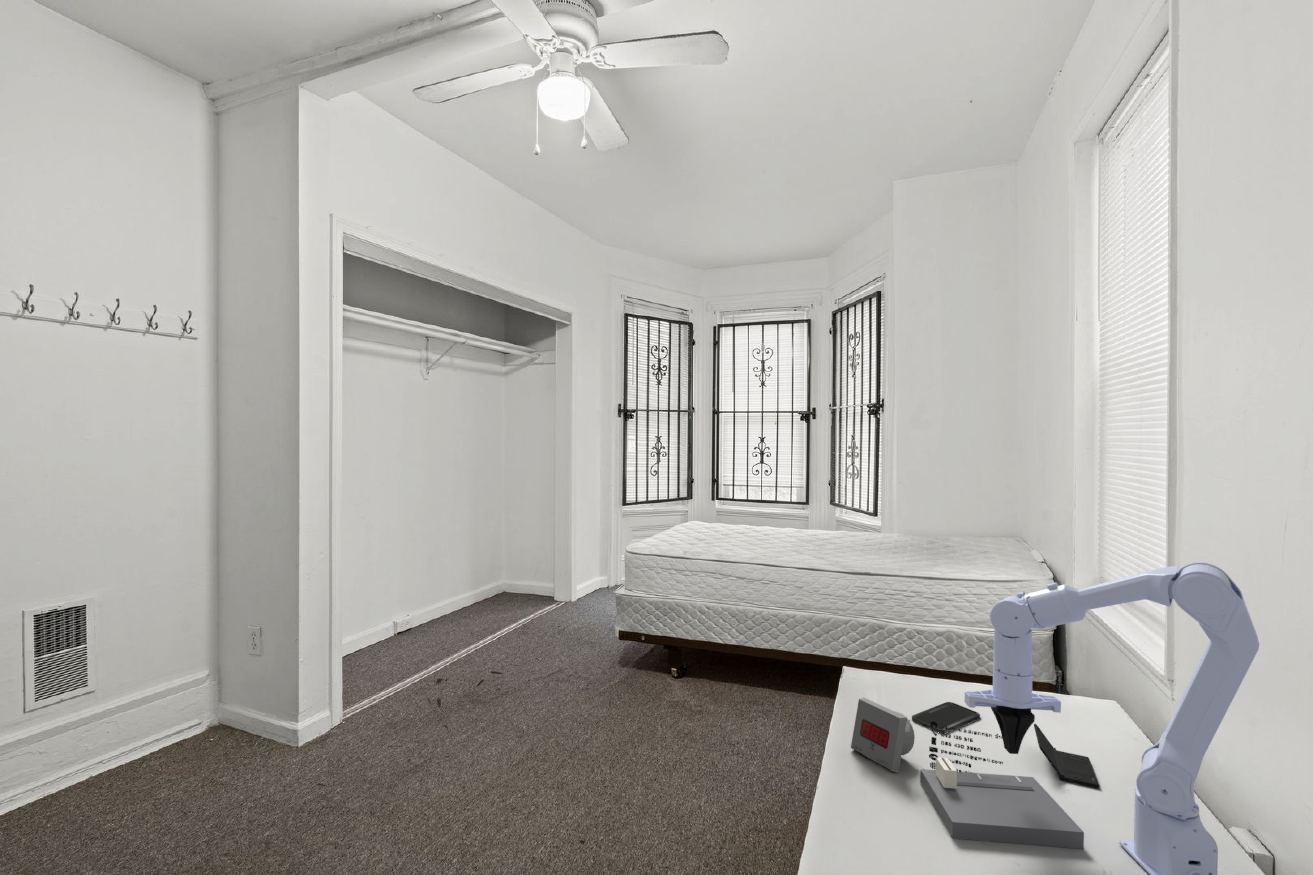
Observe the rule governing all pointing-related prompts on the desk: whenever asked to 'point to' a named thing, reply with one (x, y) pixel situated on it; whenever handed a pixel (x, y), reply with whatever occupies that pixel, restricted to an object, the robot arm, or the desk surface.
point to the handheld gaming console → (1068, 763)
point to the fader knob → (946, 773)
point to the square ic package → (946, 717)
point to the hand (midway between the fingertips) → (1011, 750)
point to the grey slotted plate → (1001, 810)
